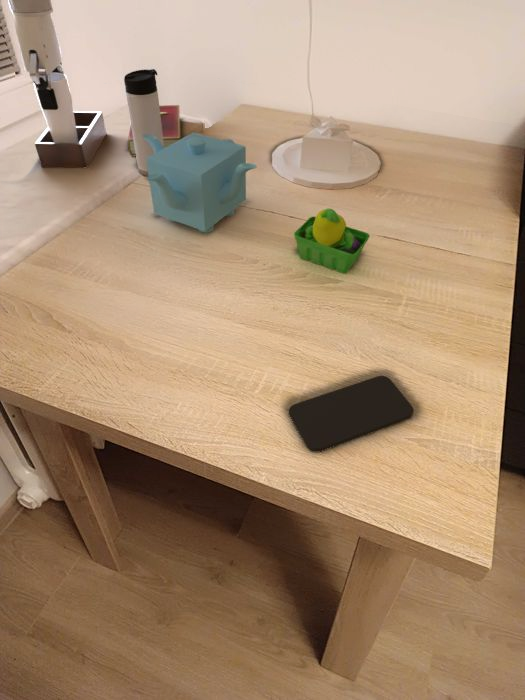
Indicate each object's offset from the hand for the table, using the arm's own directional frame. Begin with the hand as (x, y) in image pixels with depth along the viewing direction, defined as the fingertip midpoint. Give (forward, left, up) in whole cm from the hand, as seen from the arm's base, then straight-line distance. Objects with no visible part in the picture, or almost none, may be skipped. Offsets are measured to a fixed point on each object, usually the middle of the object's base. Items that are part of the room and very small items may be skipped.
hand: (55, 102), depth 107 cm
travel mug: (+20, -5, -12) cm, 24 cm away
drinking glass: (0, 0, -10) cm, 10 cm away
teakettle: (+32, -25, -12) cm, 43 cm away
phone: (+56, -73, -12) cm, 93 cm away
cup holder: (0, +5, -12) cm, 13 cm away
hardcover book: (+18, +13, -12) cm, 25 cm away
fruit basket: (+56, -39, -12) cm, 70 cm away
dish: (+59, 0, -12) cm, 60 cm away
